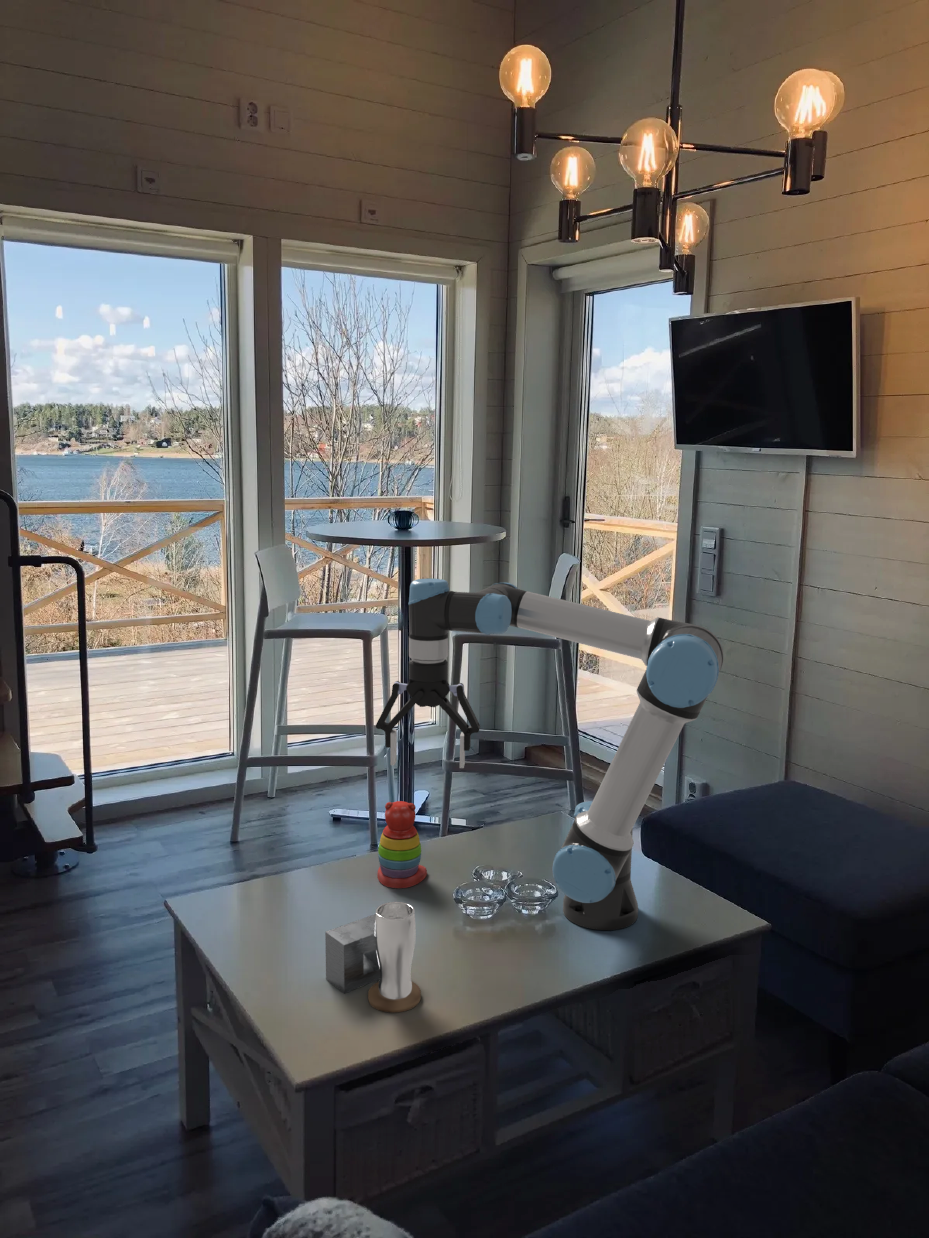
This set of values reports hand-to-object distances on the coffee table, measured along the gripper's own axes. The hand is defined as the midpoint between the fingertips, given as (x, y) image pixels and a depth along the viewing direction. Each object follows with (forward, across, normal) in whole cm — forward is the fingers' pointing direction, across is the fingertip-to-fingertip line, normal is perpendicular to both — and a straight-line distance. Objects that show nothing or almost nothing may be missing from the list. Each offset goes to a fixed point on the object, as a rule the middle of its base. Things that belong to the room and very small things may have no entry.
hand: (427, 764), depth 191 cm
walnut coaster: (+32, +2, +30) cm, 44 cm away
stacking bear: (+32, +8, -16) cm, 37 cm away
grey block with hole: (+32, +8, +24) cm, 40 cm away
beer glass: (+31, +2, +30) cm, 43 cm away
